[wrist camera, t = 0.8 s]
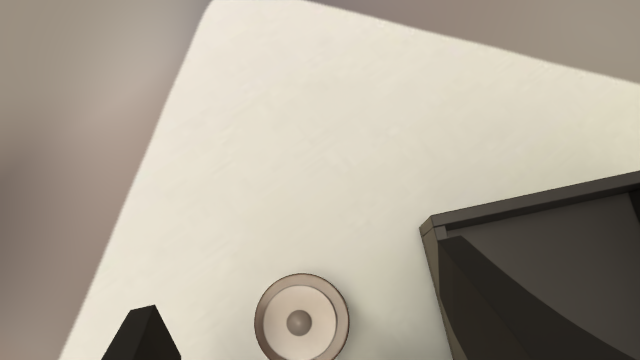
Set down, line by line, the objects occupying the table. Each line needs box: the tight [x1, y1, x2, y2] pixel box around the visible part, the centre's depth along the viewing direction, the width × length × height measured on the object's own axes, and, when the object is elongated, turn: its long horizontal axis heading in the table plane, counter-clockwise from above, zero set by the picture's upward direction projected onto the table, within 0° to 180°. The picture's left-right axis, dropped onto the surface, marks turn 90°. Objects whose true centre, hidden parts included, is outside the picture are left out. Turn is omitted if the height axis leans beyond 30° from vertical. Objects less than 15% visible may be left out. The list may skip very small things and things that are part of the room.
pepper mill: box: [254, 273, 349, 360], centre depth 23 cm, size 4×4×8 cm
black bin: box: [419, 171, 640, 360], centre depth 25 cm, size 14×12×4 cm
